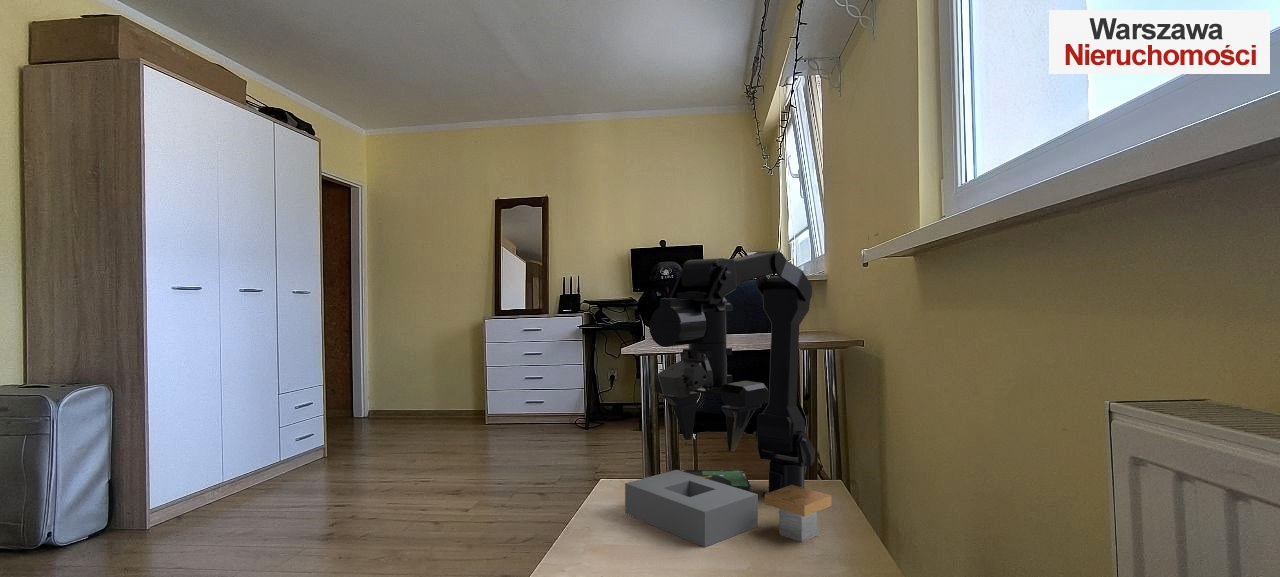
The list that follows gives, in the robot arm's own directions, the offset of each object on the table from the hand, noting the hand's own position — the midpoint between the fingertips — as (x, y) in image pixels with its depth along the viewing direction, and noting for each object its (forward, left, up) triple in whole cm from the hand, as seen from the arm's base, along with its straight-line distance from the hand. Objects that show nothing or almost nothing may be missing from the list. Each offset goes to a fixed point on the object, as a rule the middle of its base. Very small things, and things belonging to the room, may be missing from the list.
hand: (709, 445), depth 91 cm
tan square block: (-10, +9, -14) cm, 19 cm away
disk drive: (-16, -15, -14) cm, 26 cm away
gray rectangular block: (-2, -6, -13) cm, 15 cm away
